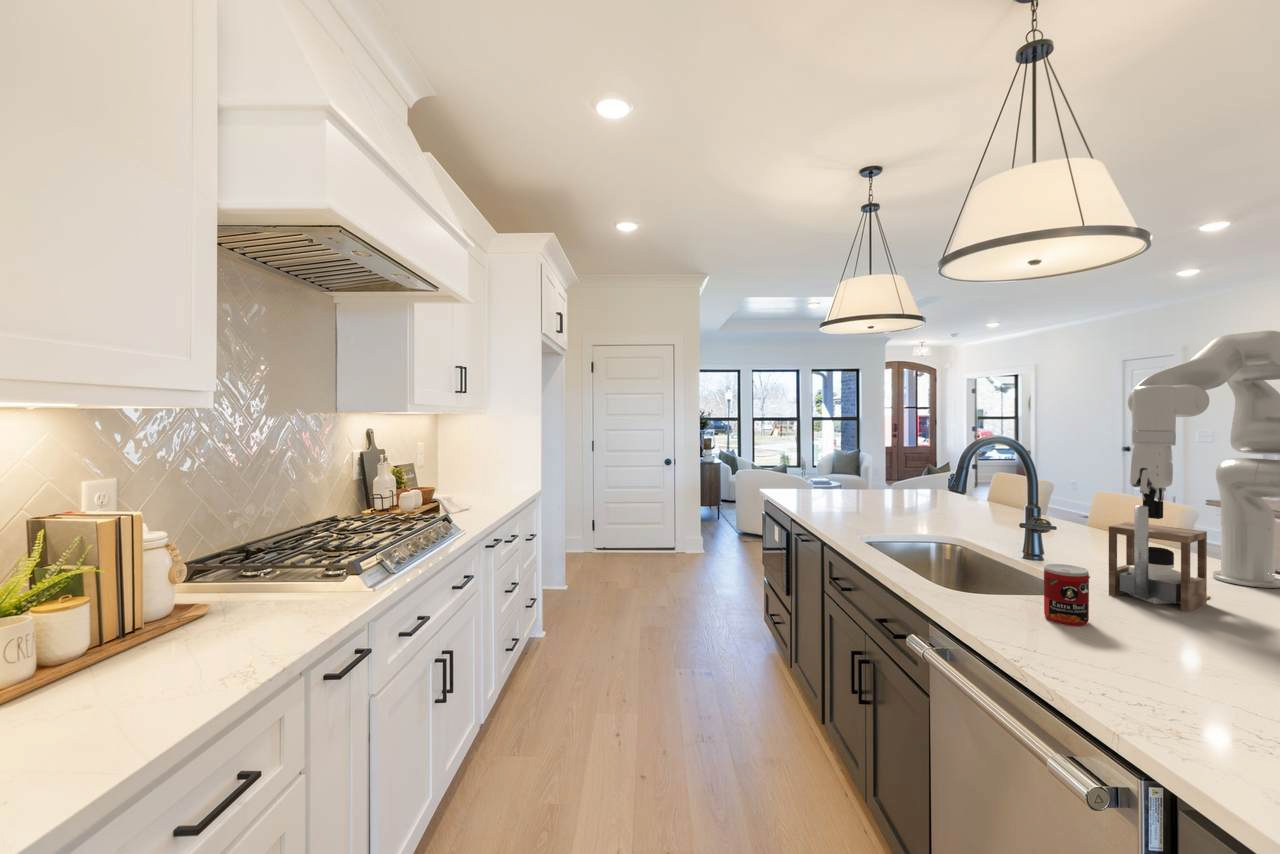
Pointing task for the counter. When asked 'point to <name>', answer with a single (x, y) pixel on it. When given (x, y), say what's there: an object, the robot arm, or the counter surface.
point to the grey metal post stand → (1146, 566)
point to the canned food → (1066, 594)
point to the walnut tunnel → (1190, 589)
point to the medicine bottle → (1160, 570)
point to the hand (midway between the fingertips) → (1152, 517)
